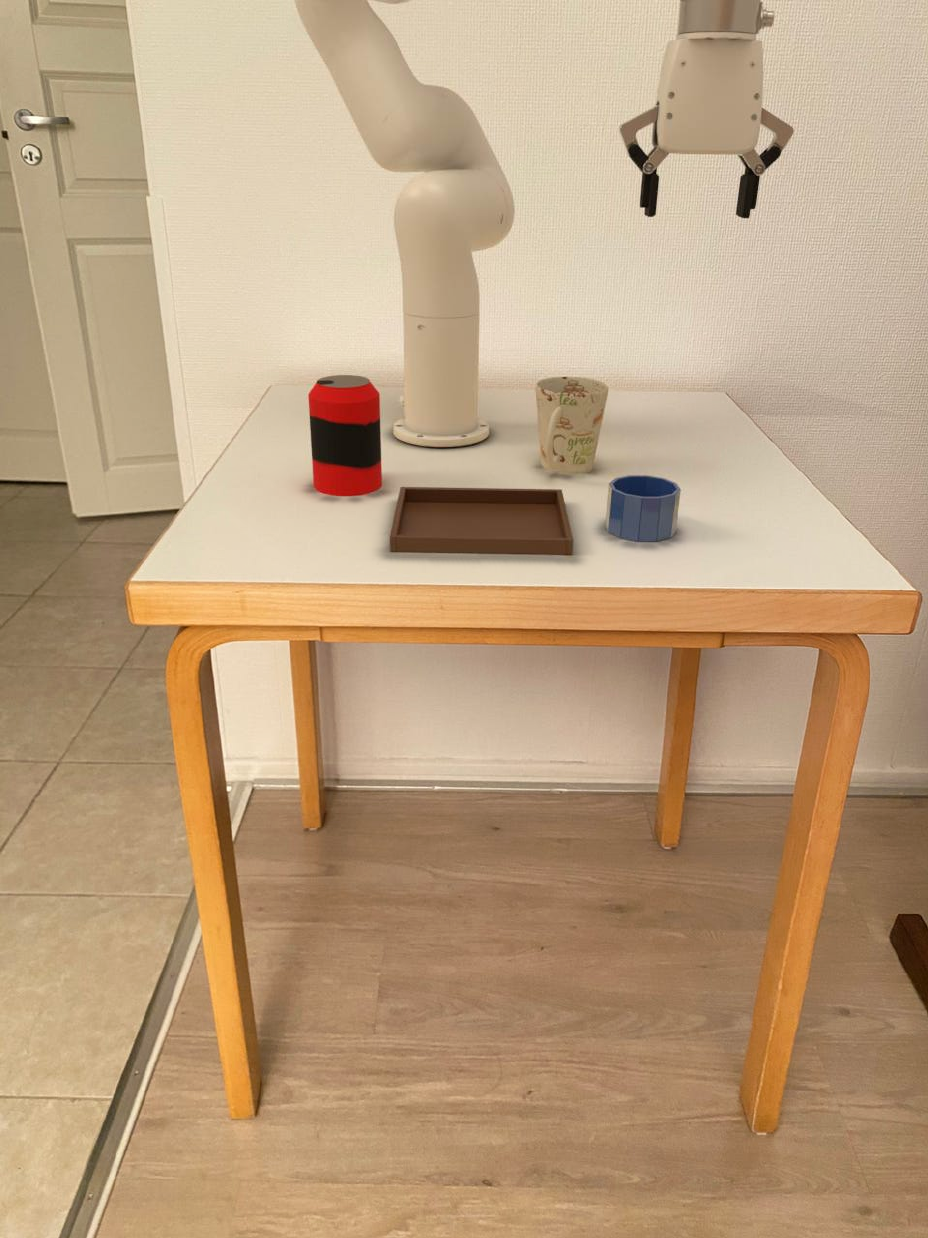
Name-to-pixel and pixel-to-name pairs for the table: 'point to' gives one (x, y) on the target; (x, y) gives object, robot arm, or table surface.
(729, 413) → the table surface
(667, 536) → the bowl
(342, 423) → the soda can
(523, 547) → the tray
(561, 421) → the mug
